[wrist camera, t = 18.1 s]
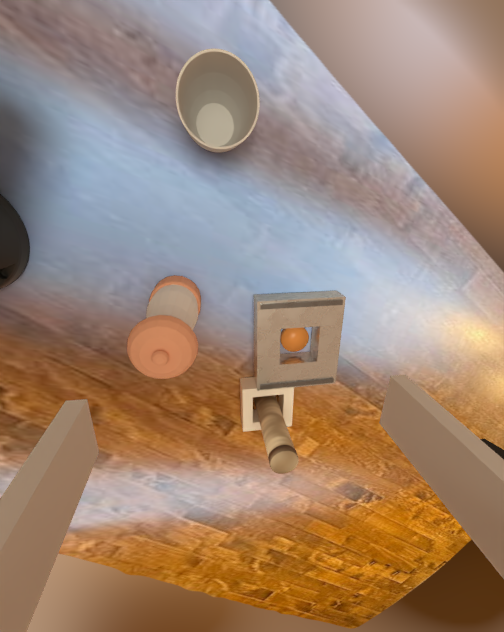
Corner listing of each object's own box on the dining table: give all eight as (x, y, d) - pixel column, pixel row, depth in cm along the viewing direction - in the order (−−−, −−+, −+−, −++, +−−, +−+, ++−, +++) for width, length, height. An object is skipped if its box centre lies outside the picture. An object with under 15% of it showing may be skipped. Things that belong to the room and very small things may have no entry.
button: (279, 350, 51) (280, 352, 50) (280, 325, 49) (281, 327, 48) (306, 348, 52) (307, 350, 51) (307, 323, 50) (309, 325, 49)
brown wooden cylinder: (253, 406, 55) (269, 475, 41) (253, 388, 53) (270, 453, 39) (274, 404, 55) (298, 471, 42) (275, 386, 54) (299, 450, 40)
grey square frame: (253, 379, 53) (257, 391, 49) (253, 294, 47) (257, 302, 43) (327, 372, 54) (335, 384, 51) (336, 290, 49) (346, 297, 45)
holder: (240, 418, 55) (243, 431, 52) (239, 378, 52) (242, 389, 49) (286, 413, 57) (291, 426, 53) (288, 373, 53) (294, 384, 50)
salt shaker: (168, 266, 43) (142, 310, 25) (209, 291, 45) (213, 349, 28) (143, 305, 45) (104, 373, 27) (185, 328, 47) (174, 404, 29)
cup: (255, 107, 37) (272, 76, 28) (233, 171, 40) (241, 162, 31) (194, 74, 35) (191, 29, 26) (174, 144, 38) (165, 126, 28)
